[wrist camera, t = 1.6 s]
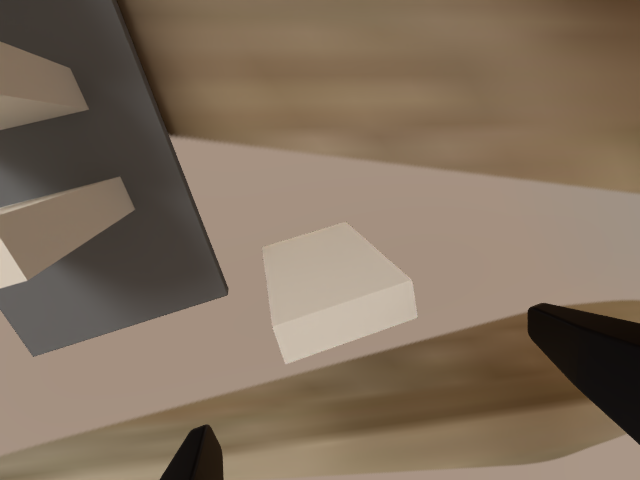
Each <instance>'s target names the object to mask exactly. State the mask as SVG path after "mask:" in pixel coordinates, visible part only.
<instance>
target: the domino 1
mask: <svg viewBox="0 0 640 480" xmlns="http://www.w3.org/2000/svg"><path fill="white" fill-rule="evenodd" d="M85 110H89V108H88V106H87V104H86V102H85V99H84V97H83V95H82V93H81V91H80V88H79V86H78V84H77V82H76V80H75V78H74V75H73V73H72V71H71V69H70V68H68V67H66V66H63V65H60V64H58V63H55V62H53V61H50V60H47V59H45V58H42V57H40V56H37V55H34V54H32V53H29V52H26V51H24V50H21V49H19V48H16V47H13V46H11V45H8V44H6V43H3V42H0V130H3V129H8V128H12V127H16V126H21V125H25V124H29V123H33V122H38V121H42V120H46V119H51V118H55V117H59V116H64V115H68V114H72V113H77V112H81V111H85Z"/></svg>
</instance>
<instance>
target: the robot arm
mask: <svg viewBox="0 0 640 480" xmlns="http://www.w3.org/2000/svg"><path fill="white" fill-rule="evenodd" d="M528 334H529V336H530V338H531V339H532V340H533V342H534V343H535V344H536V345H537V346H538V347H539V348H540V349H541V350H542V351H543V352H544V353H545V354H546V355H547V357H548V358H549V359H550V360H551V361H552V362H553V363H554V364H555V365H556V366H557V367H558V368H559V369H560V370H561V372H562V373H563V374H564V375H565V376H566V377H567V378H568V379H569V380H570V381H571V382H572V383H573V384H574V385H575V386H576V387H577V388H578V389H579V390H580V391H581V392H582V393H583V394H584V395H585V396H587V397H588V398H589V399H590V400H591V401H592V402H593V403H594V404H595V405H596V406H598V407H599V408H600V409H601V410H602V411H603V412H604V413H605V414H606V415H607V416H609V417H610V418H611V419H612V420H613V421H614V422H615V423H616V424H617V425H618V426H620V427H621V428H622V429H623V430H624V431H625V432H626V433H627V434H628V435H629V436H631V437H632V438H633V439H634V440H635V441H636V442H637V443H638V444H639V445H640V323H636V322H631V321H626V320H622V319H617V318H612V317H608V316H603V315H598V314H594V313H589V312H584V311H580V310H575V309H570V308H566V307H561V306H556V305H551V304H547V303H540V304H537V305H535V306H532V307H530V308H529V309H528ZM160 480H224V479H223V456H222V450H221V446H220V444H219V442H218V440H217V438H216V436H215V434H214V432H213V430H212V428H211V427H210V426H209V425H203V426H200V427H197V428H195V429H193V430H191V431H190V432H189V434H188V436H187V437H186V439H185V440H184V442H183V443H182V445H181V447H180V448H179V450H178V451H177V453H176V454H175V456H174V458H173V459H172V461H171V462H170V464H169V466H168V467H167V469H166V470H165V472H164V473H163V475H162V477H161V478H160Z"/></svg>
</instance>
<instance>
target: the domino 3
mask: <svg viewBox="0 0 640 480" xmlns="http://www.w3.org/2000/svg"><path fill="white" fill-rule="evenodd" d="M262 252H263V260H264V268H265V276H266V283H267V290H268V299H269V306H270V314H271V321H272V328H273V331H274V333H275V336H276V339H277V342H278V344H279V347H280V351H281V353H282V356H283V359H284V362H285V364H288V363H291V362H294V361H297V360H299V359H302V358H305V357H308V356H311V355H314V354H316V353H319V352H322V351H325V350H327V349H331V348H334V347H337V346H339V345H342V344H345V343H348V342H351V341H354V340H356V339H359V338H362V337H365V336H368V335H371V334H374V333H377V332H379V331H382V330H385V329H388V328H391V327H394V326H396V325H399V324H402V323H405V322H408V321H410V320H414V319H416V318H418V315H417V308H416V302H415V295H414V288H413V282H412V279H411V278H409V277H408V276H407V275H406V274H405V273H404V272H403V271H401V270H400V269H399V268H398V267H397V266H396V265H394V263H392V262H391V261H390V260H389V259H388V258H387V257H386V256H384V255H383V254H382V253H381V252H380V251H379V250H378V249H376V248H375V247H374V246H373V245H372V244H371V243H370V242H368V241H367V240H366V239H365V238H364V237H363V236H362V235H360V234H359V233H358V232H357V231H356V230H355V229H354V228H352V227H351V226H350V225H349V224H348V223H347V222H343V223H340V224H337V225H333V226H330V227H327V228H323V229H320V230H317V231H313V232H310V233H307V234H304V235H300V236H297V237H293V238H290V239H287V240H283V241H280V242H277V243H273V244H271V245H267V246H264V247H262Z"/></svg>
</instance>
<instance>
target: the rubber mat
mask: <svg viewBox="0 0 640 480" xmlns="http://www.w3.org/2000/svg"><path fill="white" fill-rule="evenodd" d="M0 42H3V43H6V44H8V45H11V46H13V47H16V48H19V49H21V50H24V51H26V52H29V53H32V54H34V55H37V56H40V57H42V58H45V59H47V60H50V61H53V62H55V63H58V64H60V65H63V66H66V67H68V68H70V69H71V71H72V73H73V75H74V78H75V80H76V82H77V84H78V86H79V88H80V91H81V93H82V95H83V97H84V99H85V102H86V104H87V106H88V108H89V110H85V111H81V112H77V113H72V114H68V115H64V116H59V117H55V118H51V119H46V120H42V121H38V122H33V123H29V124H25V125H21V126H16V127H12V128H8V129H3V130H0V208H1V207H4V206H8V205H12V204H16V203H20V202H24V201H27V200H31V199H35V198H39V197H43V196H47V195H50V194H54V193H58V192H62V191H66V190H70V189H74V188H77V187H81V186H85V185H89V184H93V183H97V182H101V181H104V180H108V179H112V178H116V177H121V180H122V182H123V184H124V186H125V188H126V190H127V193H128V195H129V197H130V199H131V201H132V203H133V206H134V208H135V210H134V211H132V212H131V213H129V214H128V215H126V216H125V217H123V218H122V219H120V220H119V221H117V222H116V223H114V224H113V225H111V226H110V227H108V228H107V229H105V230H103V231H102V232H100V233H99V234H97V235H96V236H94V237H93V238H91V239H90V240H88V241H87V242H85V243H84V244H82V245H81V246H79V247H78V248H76V249H75V250H73V251H72V252H70V253H69V254H67V255H66V256H64V257H63V258H61V259H60V260H58V261H57V262H55V263H53V264H52V265H50V266H49V267H47V268H46V269H44V270H43V271H41V272H40V273H38V274H37V275H35V276H34V277H32V278H31V279H29V280H28V281H25V282H21V283H18V284H14V285H11V286H7V287H4V288H0V310H1V311H2V313H3V314H4V316H5V317H6V319H7V320H8V321H9V323H10V324H11V326H12V327H13V329H14V330H15V332H16V333H17V334H18V335H19V337H20V339H21V340H22V342H23V343H24V344H25V346H26V347H27V348H28V350H29V351H30V353H31V354H32V355H33V357H34V356H37V355H40V354H44V353H47V352H50V351H53V350H56V349H59V348H63V347H66V346H69V345H72V344H75V343H78V342H81V341H85V340H87V339H91V338H94V337H97V336H100V335H103V334H107V333H110V332H113V331H116V330H119V329H122V328H126V327H129V326H132V325H135V324H138V323H141V322H145V321H147V320H151V319H154V318H157V317H160V316H164V315H167V314H170V313H173V312H176V311H179V310H182V309H186V308H189V307H192V306H195V305H198V304H201V303H205V302H208V301H211V300H214V299H217V298H221V297H224V296H227V295H228V287H227V284H226V281H225V279H224V276H223V274H222V271H221V268H220V266H219V263H218V261H217V258H216V256H215V253H214V250H213V248H212V245H211V243H210V240H209V238H208V235H207V232H206V230H205V227H204V225H203V222H202V220H201V217H200V215H199V212H198V209H197V207H196V204H195V202H194V199H193V197H192V194H191V192H190V189H189V186H188V184H187V181H186V179H185V176H184V173H183V171H182V168H181V166H180V163H179V161H178V158H177V156H176V153H175V150H174V148H173V145H172V143H171V140H170V137H169V135H168V132H167V130H166V127H165V125H164V122H163V119H162V117H161V114H160V112H159V109H158V107H157V104H156V101H155V99H154V96H153V94H152V91H151V89H150V86H149V83H148V81H147V78H146V76H145V73H144V71H143V68H142V65H141V63H140V60H139V58H138V55H137V53H136V50H135V48H134V45H133V42H132V40H131V37H130V35H129V32H128V30H127V27H126V24H125V22H124V19H123V17H122V14H121V12H120V9H119V6H118V4H117V1H116V0H0Z"/></svg>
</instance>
